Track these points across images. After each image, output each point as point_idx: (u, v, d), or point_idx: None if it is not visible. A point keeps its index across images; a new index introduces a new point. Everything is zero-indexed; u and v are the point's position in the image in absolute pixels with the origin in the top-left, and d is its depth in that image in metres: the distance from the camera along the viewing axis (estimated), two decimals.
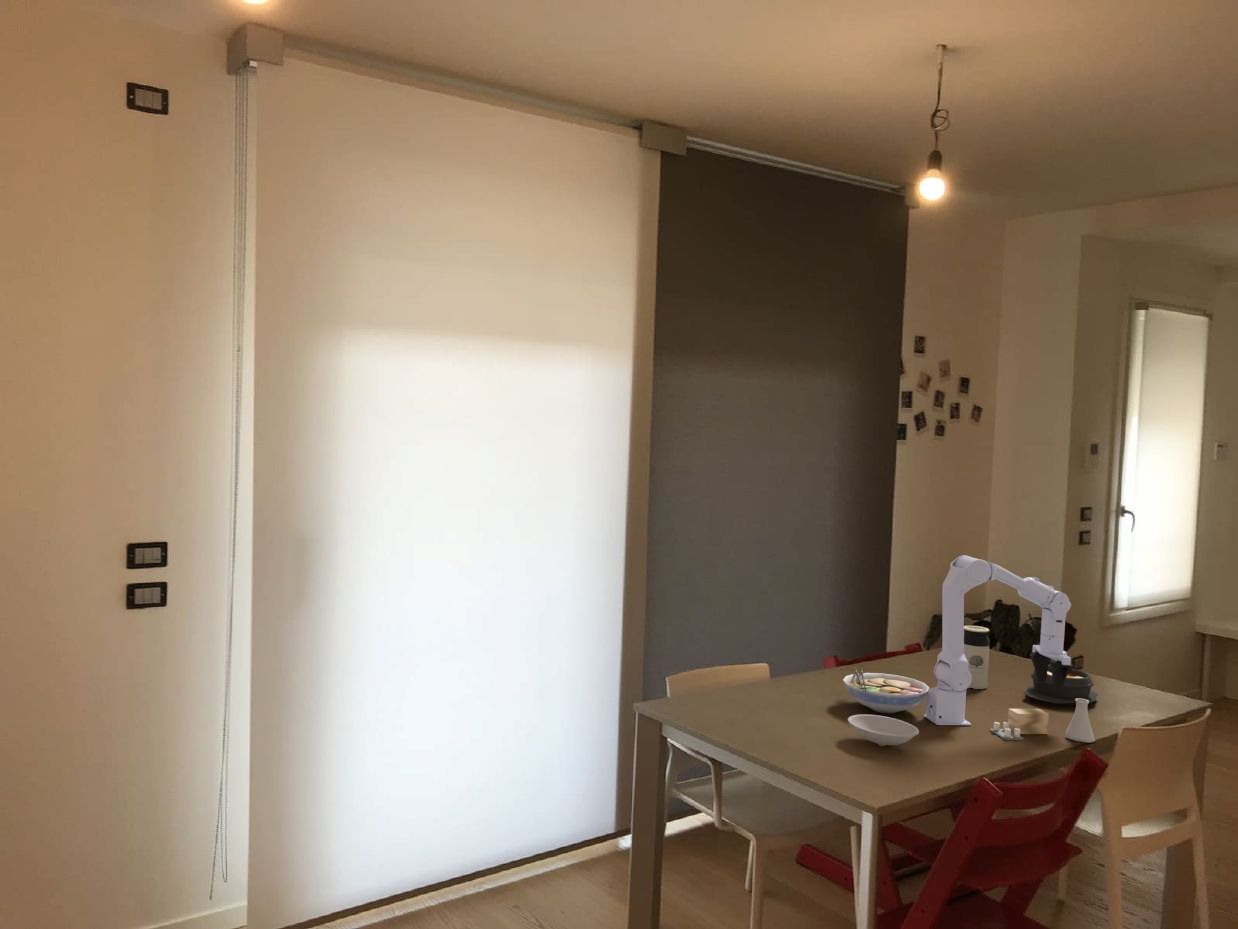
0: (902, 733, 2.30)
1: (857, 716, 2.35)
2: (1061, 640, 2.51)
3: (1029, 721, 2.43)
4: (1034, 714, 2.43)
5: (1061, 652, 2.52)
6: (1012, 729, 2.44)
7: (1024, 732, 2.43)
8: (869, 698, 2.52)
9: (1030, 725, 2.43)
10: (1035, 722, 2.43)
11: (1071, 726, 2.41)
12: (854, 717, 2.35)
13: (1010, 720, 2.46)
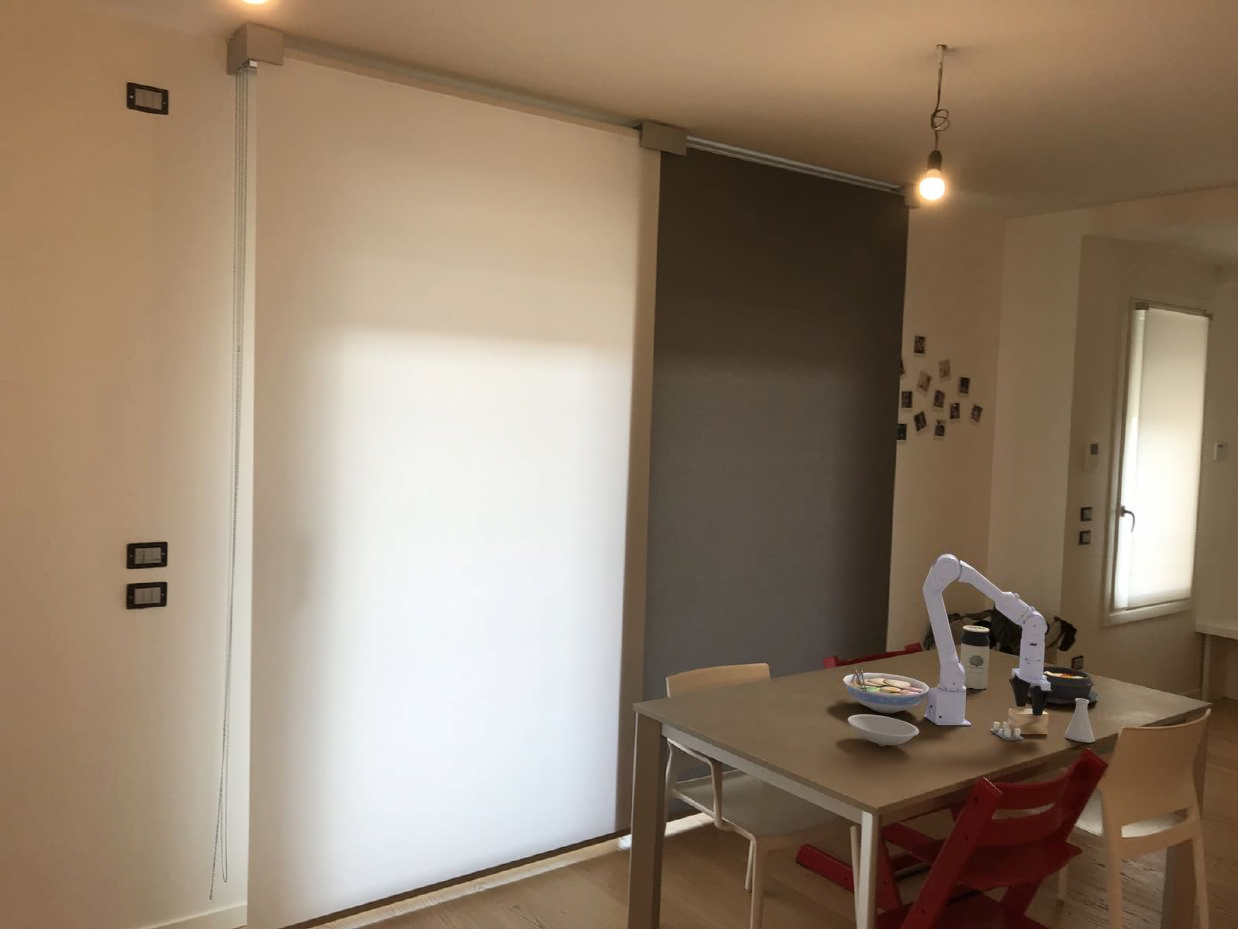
0: (902, 733, 2.30)
1: (857, 716, 2.35)
2: (1041, 664, 2.42)
3: (1029, 721, 2.43)
4: None
5: (1041, 677, 2.42)
6: (1012, 729, 2.44)
7: (1024, 732, 2.43)
8: (869, 698, 2.52)
9: (1030, 725, 2.43)
10: (1035, 722, 2.43)
11: (1071, 726, 2.41)
12: (854, 717, 2.35)
13: (1010, 720, 2.46)
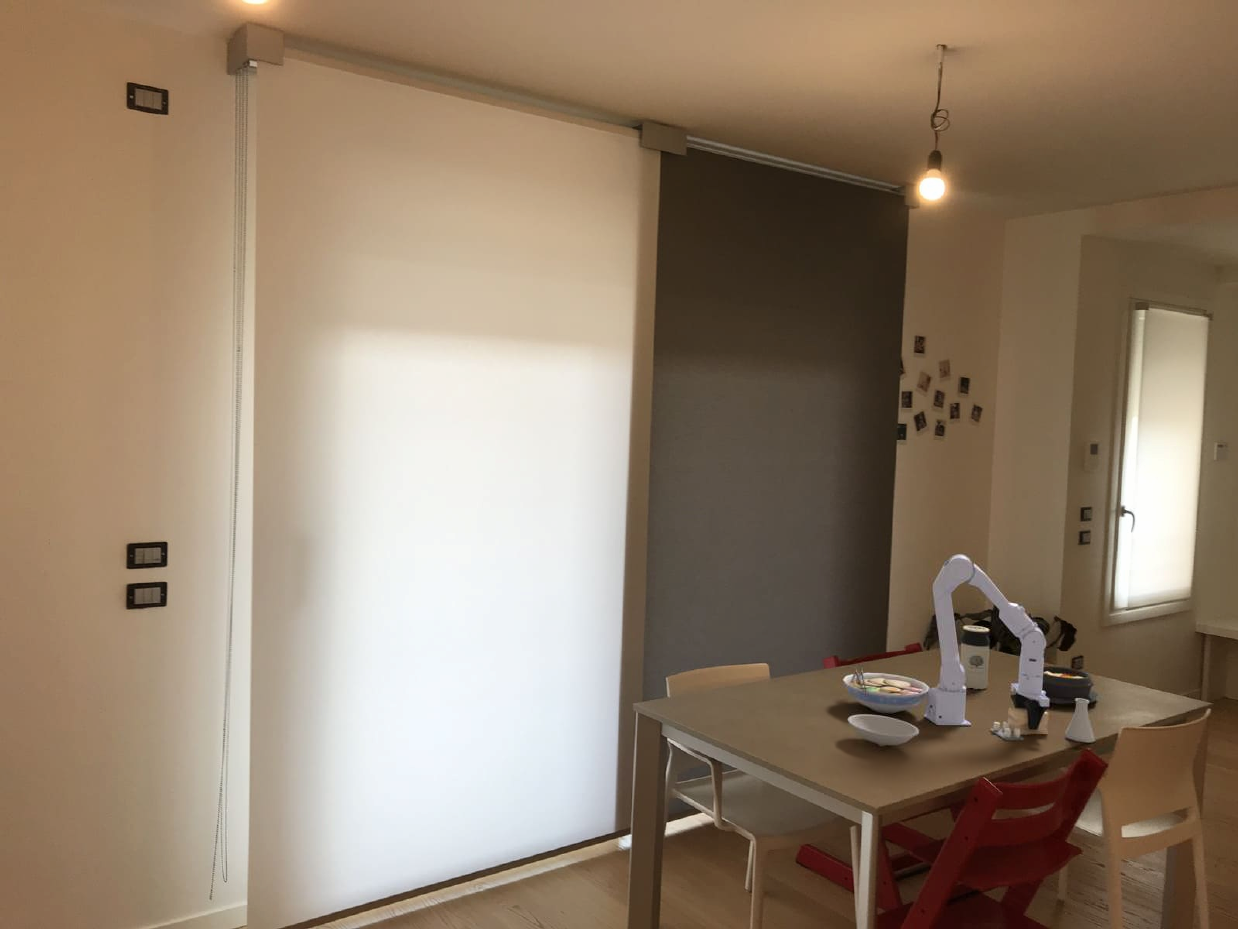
0: (902, 733, 2.30)
1: (857, 716, 2.35)
2: (1040, 680, 2.42)
3: None
4: None
5: (1040, 692, 2.42)
6: (1012, 729, 2.45)
7: (1024, 732, 2.43)
8: (869, 698, 2.52)
9: None
10: None
11: (1071, 726, 2.41)
12: (854, 717, 2.35)
13: (1010, 720, 2.46)
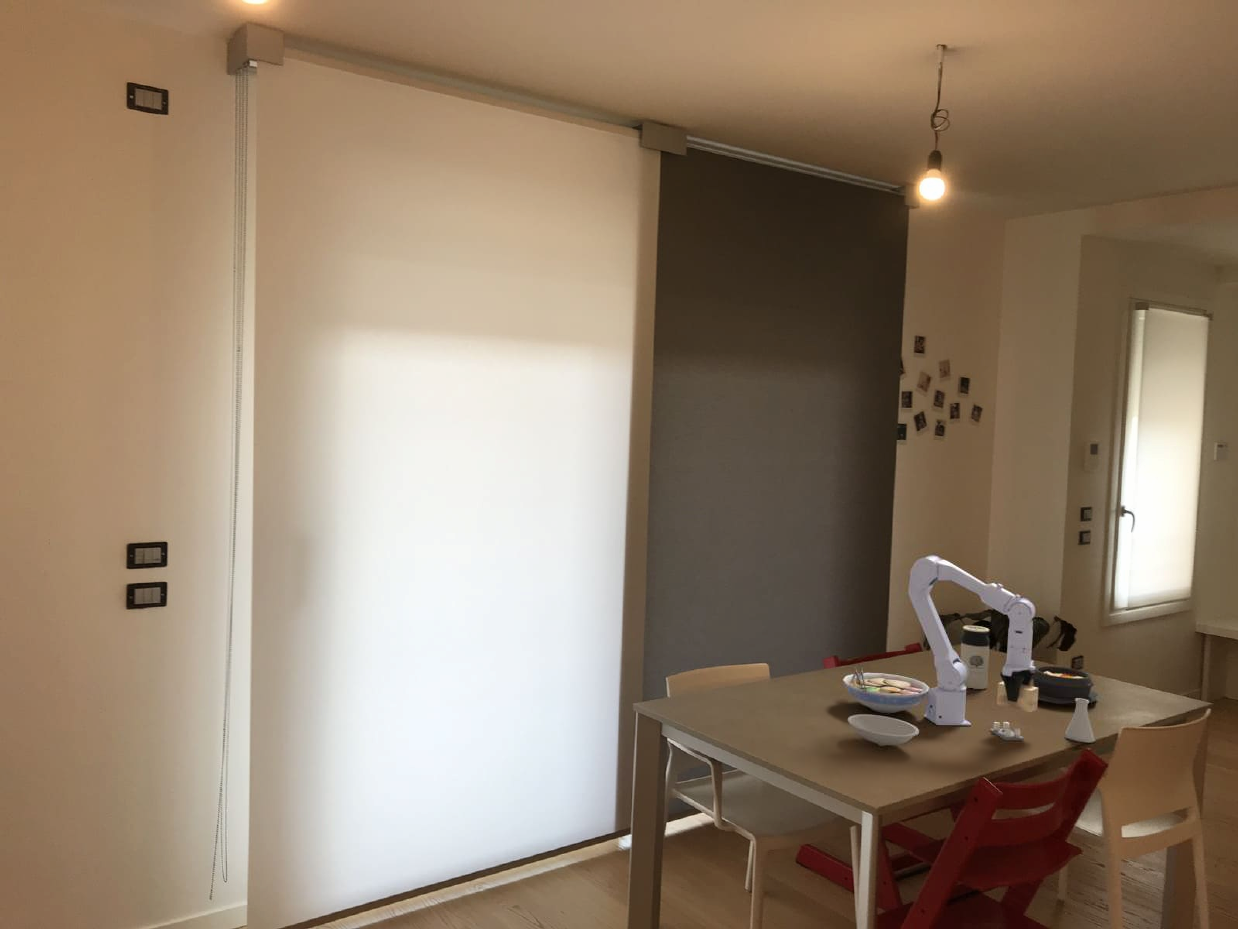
0: (902, 733, 2.30)
1: (857, 716, 2.35)
2: (1019, 652, 2.40)
3: None
4: None
5: (1019, 665, 2.40)
6: None
7: (1005, 703, 2.42)
8: (869, 698, 2.52)
9: None
10: None
11: (1071, 726, 2.41)
12: (854, 717, 2.35)
13: None
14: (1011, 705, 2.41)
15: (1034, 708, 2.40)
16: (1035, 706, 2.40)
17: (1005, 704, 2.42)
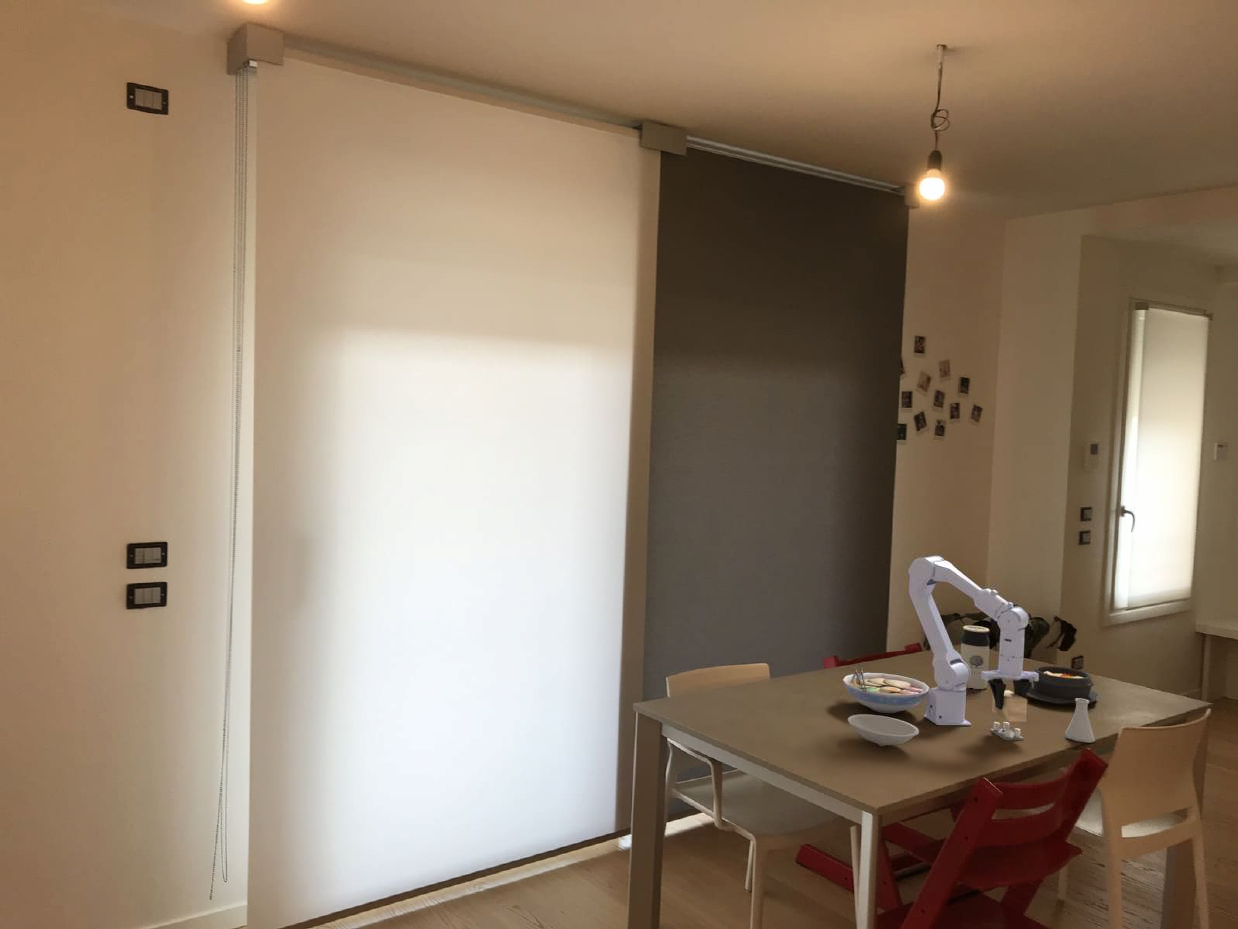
0: (902, 733, 2.30)
1: (857, 716, 2.35)
2: (1003, 659, 2.39)
3: None
4: None
5: (1003, 672, 2.39)
6: None
7: (996, 711, 2.43)
8: (869, 698, 2.52)
9: None
10: None
11: (1071, 726, 2.41)
12: (854, 717, 2.35)
13: None
14: (999, 713, 2.41)
15: (1019, 719, 2.37)
16: (1020, 717, 2.37)
17: (996, 712, 2.42)
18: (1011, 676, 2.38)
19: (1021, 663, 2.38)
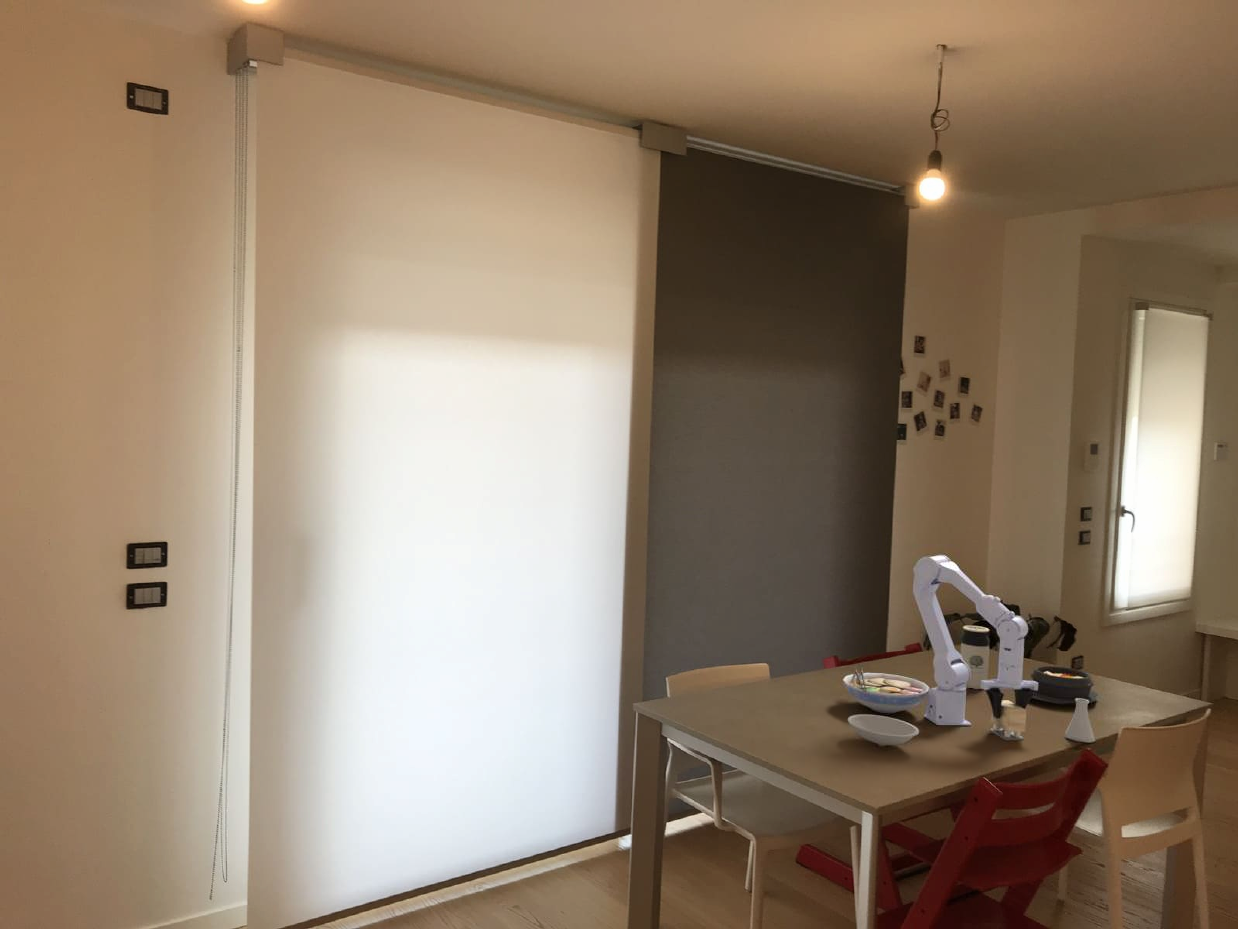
0: (902, 733, 2.30)
1: (857, 716, 2.35)
2: (1002, 668, 2.39)
3: None
4: (1001, 706, 2.40)
5: (1003, 681, 2.39)
6: None
7: (995, 721, 2.43)
8: (869, 698, 2.52)
9: None
10: (1001, 714, 2.40)
11: (1071, 726, 2.41)
12: (854, 717, 2.35)
13: None
14: (998, 723, 2.41)
15: (1018, 729, 2.37)
16: (1019, 728, 2.37)
17: (995, 722, 2.43)
18: (1010, 685, 2.38)
19: (1020, 672, 2.39)
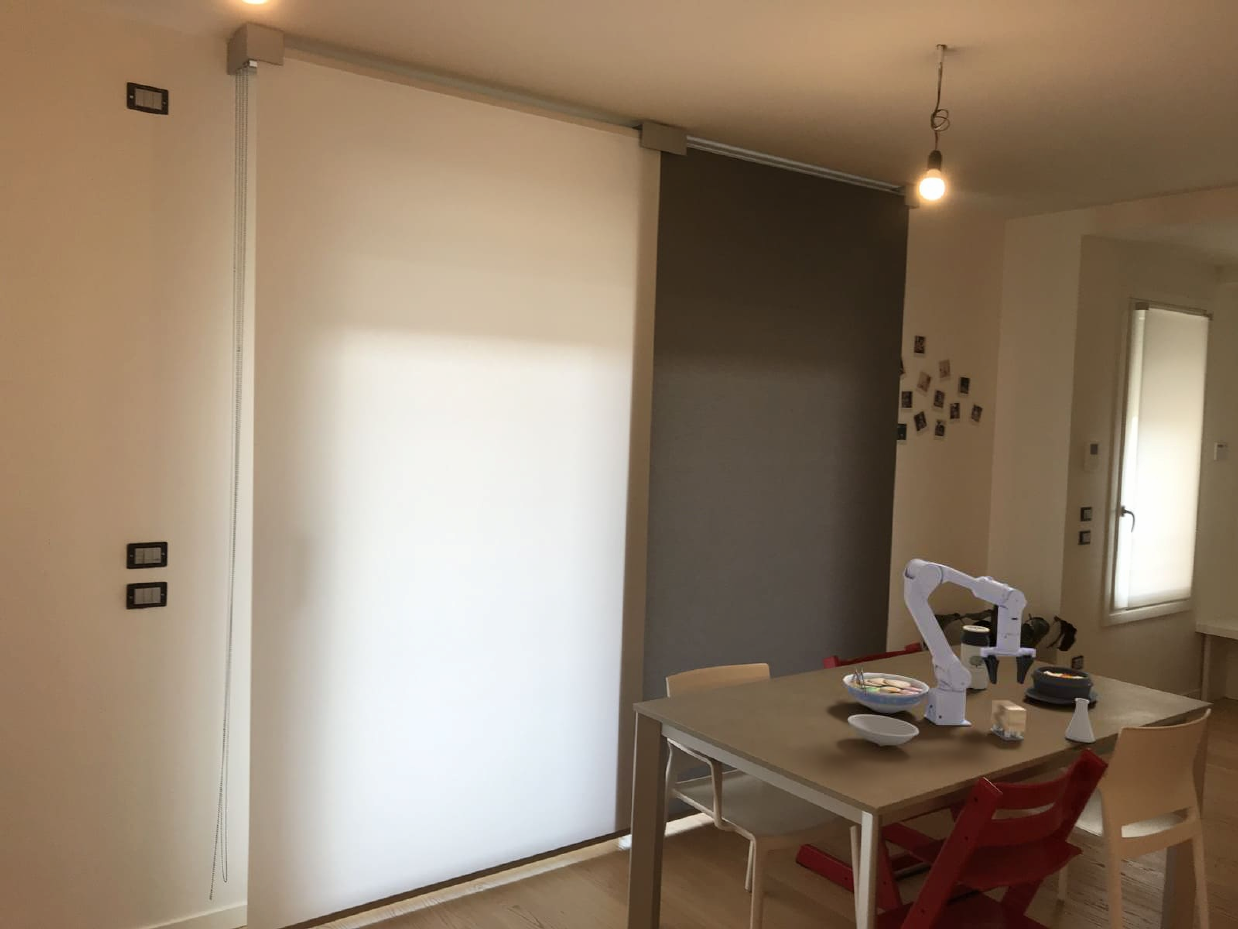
0: (902, 733, 2.30)
1: (857, 716, 2.35)
2: (1001, 636, 2.51)
3: (998, 711, 2.41)
4: (1001, 706, 2.40)
5: (1001, 649, 2.51)
6: None
7: (995, 721, 2.43)
8: (869, 698, 2.52)
9: (998, 716, 2.41)
10: (1001, 714, 2.40)
11: (1071, 726, 2.41)
12: (854, 717, 2.35)
13: None
14: (998, 723, 2.41)
15: (1018, 729, 2.37)
16: (1019, 728, 2.37)
17: (995, 722, 2.43)
18: (1009, 652, 2.49)
19: (1018, 640, 2.50)
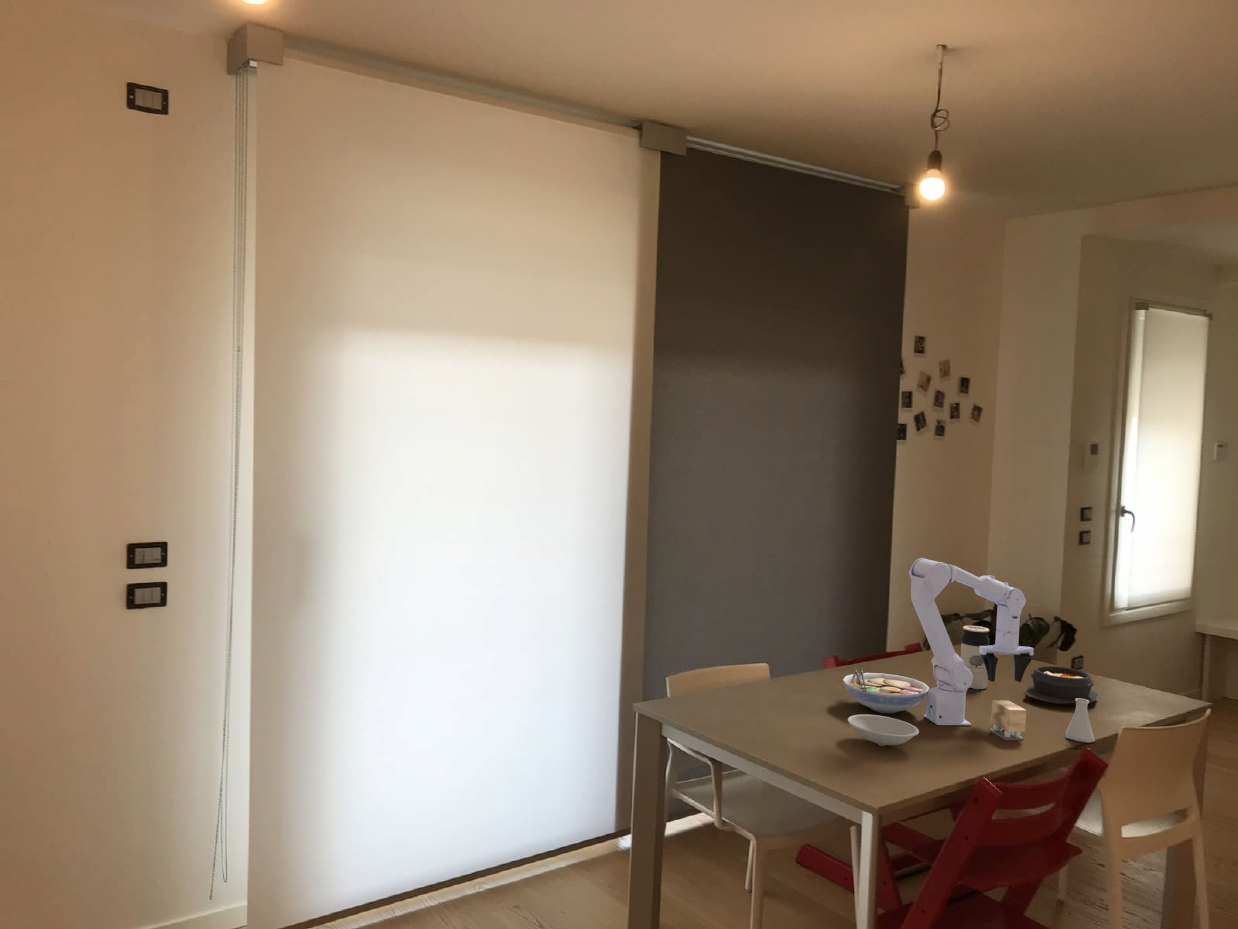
0: (902, 733, 2.30)
1: (857, 716, 2.35)
2: (1000, 634, 2.53)
3: (998, 711, 2.41)
4: (1001, 706, 2.40)
5: (1000, 647, 2.53)
6: None
7: (995, 721, 2.43)
8: (869, 698, 2.52)
9: (998, 716, 2.41)
10: (1001, 714, 2.40)
11: (1071, 726, 2.41)
12: (854, 717, 2.35)
13: None
14: (998, 723, 2.41)
15: (1018, 729, 2.37)
16: (1019, 728, 2.37)
17: (995, 722, 2.43)
18: (1007, 650, 2.52)
19: (1017, 638, 2.53)
